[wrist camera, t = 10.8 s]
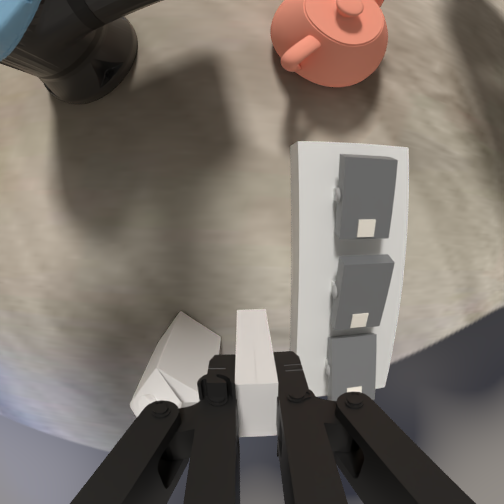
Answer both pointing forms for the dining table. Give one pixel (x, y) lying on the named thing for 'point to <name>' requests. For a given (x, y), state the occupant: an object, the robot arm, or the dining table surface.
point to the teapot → (330, 39)
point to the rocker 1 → (365, 196)
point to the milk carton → (177, 365)
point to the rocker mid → (360, 291)
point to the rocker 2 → (351, 364)
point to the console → (337, 254)
